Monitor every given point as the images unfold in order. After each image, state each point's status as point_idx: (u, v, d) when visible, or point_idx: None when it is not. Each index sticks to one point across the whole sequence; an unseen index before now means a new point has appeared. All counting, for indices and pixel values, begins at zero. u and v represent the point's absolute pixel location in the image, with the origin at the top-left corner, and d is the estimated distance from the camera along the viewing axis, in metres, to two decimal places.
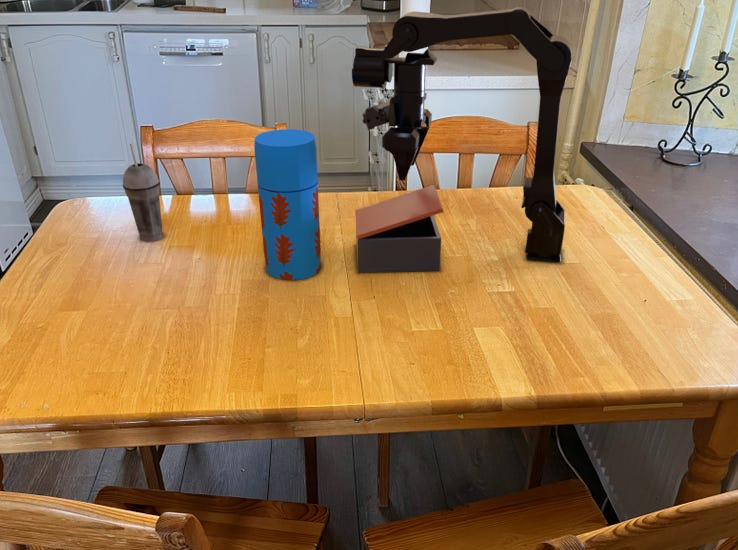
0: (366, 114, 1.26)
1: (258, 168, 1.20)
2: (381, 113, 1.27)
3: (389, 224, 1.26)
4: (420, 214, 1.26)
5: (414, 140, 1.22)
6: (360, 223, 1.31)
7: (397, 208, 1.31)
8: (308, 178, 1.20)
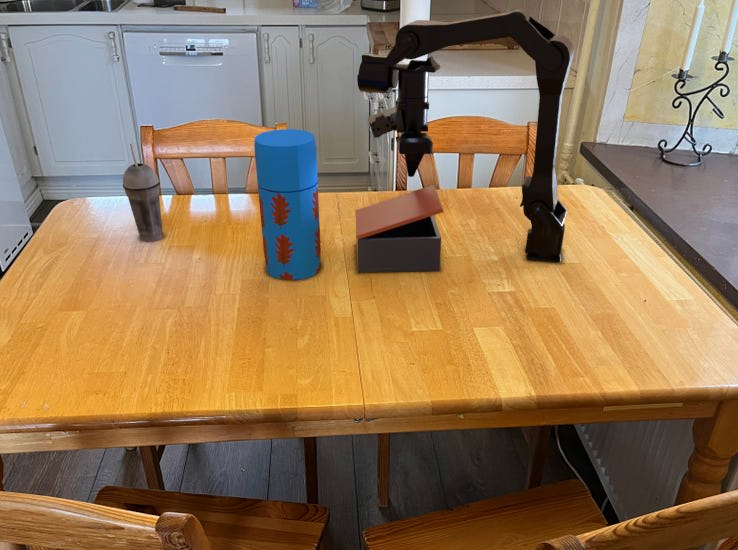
0: (376, 123, 1.28)
1: (258, 168, 1.20)
2: (390, 120, 1.29)
3: (389, 224, 1.26)
4: (420, 214, 1.26)
5: (431, 144, 1.26)
6: (360, 223, 1.31)
7: (397, 208, 1.31)
8: (308, 178, 1.20)
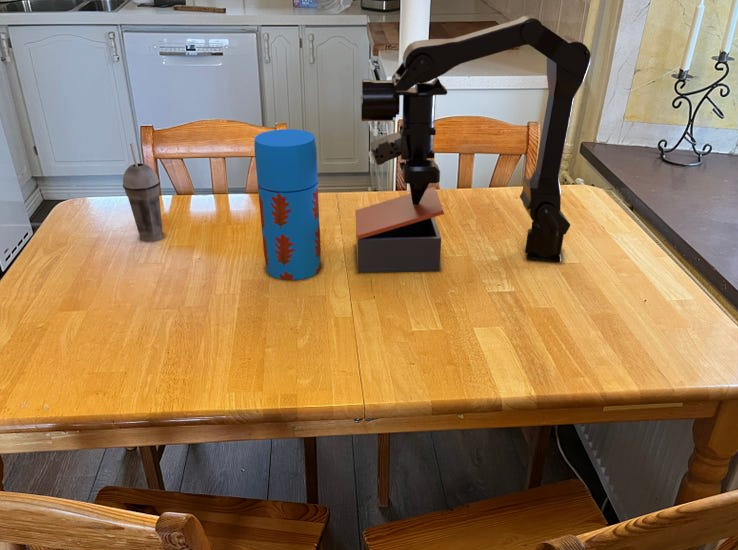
0: (379, 149, 1.20)
1: (258, 168, 1.20)
2: (394, 147, 1.21)
3: (389, 225, 1.27)
4: (420, 215, 1.26)
5: (438, 173, 1.18)
6: (361, 223, 1.31)
7: (397, 209, 1.31)
8: (308, 178, 1.20)
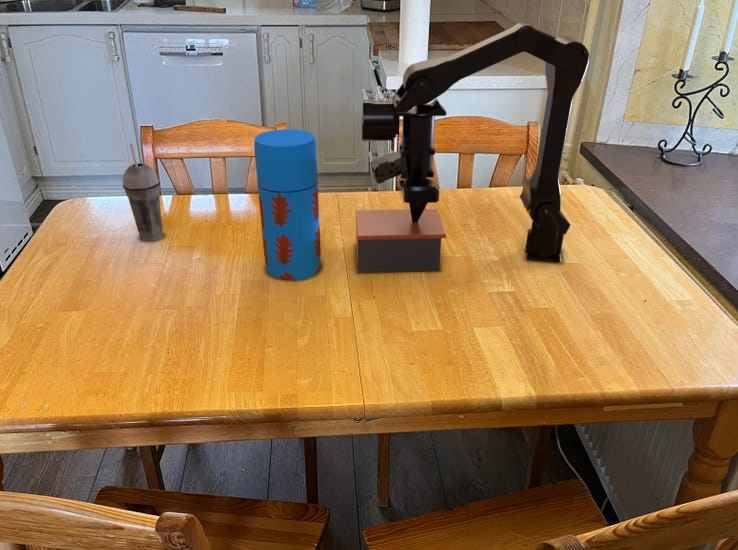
0: (379, 169, 1.22)
1: (258, 168, 1.20)
2: (394, 166, 1.23)
3: (391, 234, 1.28)
4: (423, 233, 1.28)
5: (438, 192, 1.20)
6: (361, 224, 1.31)
7: (399, 221, 1.33)
8: (308, 178, 1.20)
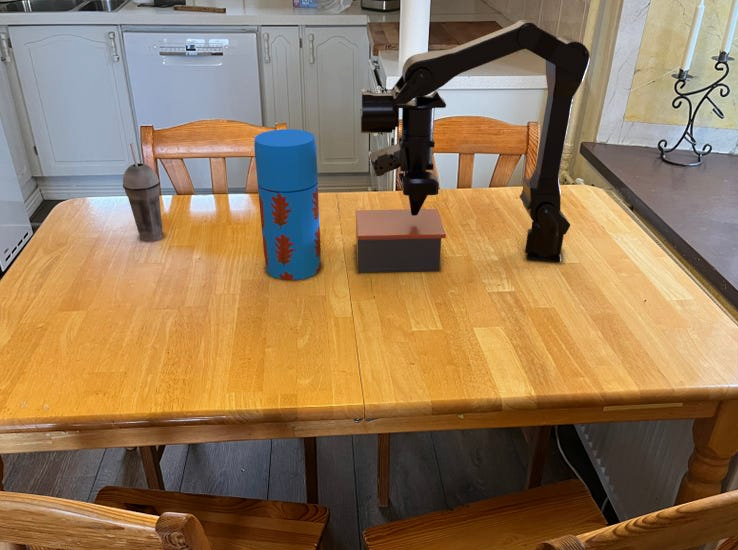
0: (379, 161, 1.22)
1: (258, 168, 1.20)
2: (393, 159, 1.22)
3: (391, 234, 1.28)
4: (423, 233, 1.28)
5: (437, 185, 1.19)
6: (361, 224, 1.31)
7: (399, 221, 1.33)
8: (308, 178, 1.20)
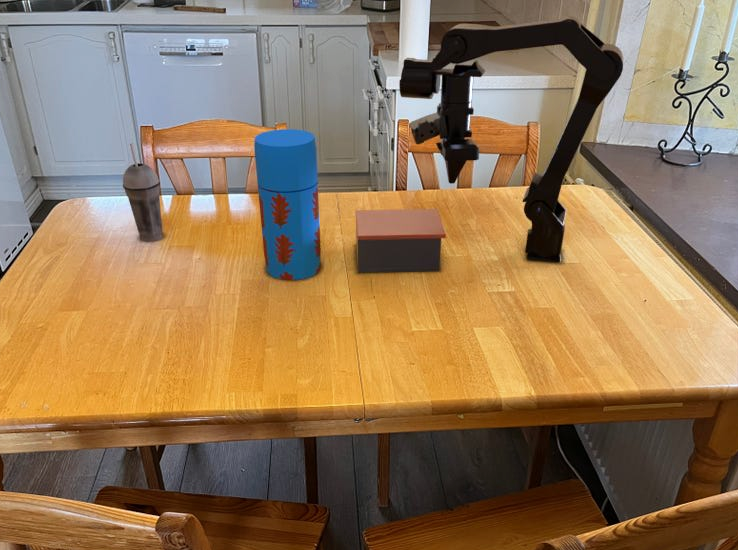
0: (420, 129, 1.25)
1: (258, 168, 1.20)
2: (434, 126, 1.26)
3: (391, 234, 1.28)
4: (423, 233, 1.28)
5: (478, 150, 1.23)
6: (361, 224, 1.31)
7: (399, 221, 1.33)
8: (308, 178, 1.20)
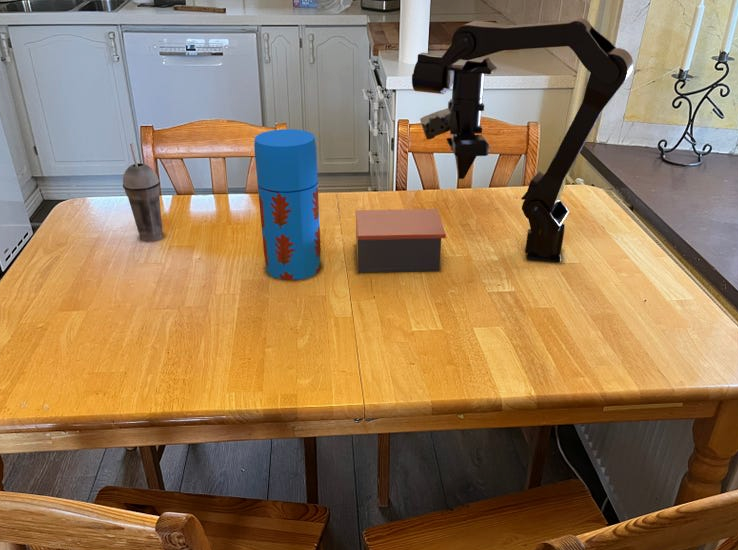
0: (431, 124, 1.27)
1: (258, 168, 1.20)
2: (444, 122, 1.28)
3: (391, 234, 1.28)
4: (423, 233, 1.28)
5: (488, 146, 1.25)
6: (361, 224, 1.31)
7: (399, 221, 1.33)
8: (308, 178, 1.20)
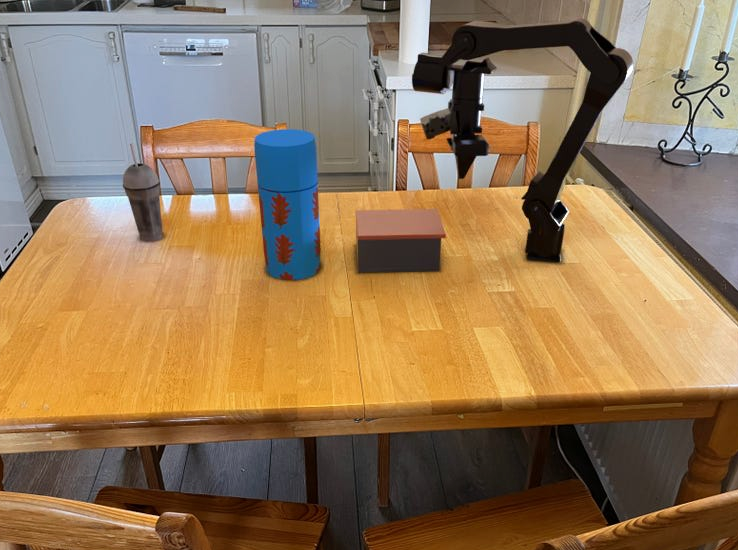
0: (431, 124, 1.27)
1: (258, 168, 1.20)
2: (444, 122, 1.28)
3: (391, 234, 1.28)
4: (423, 233, 1.28)
5: (488, 146, 1.25)
6: (361, 224, 1.31)
7: (399, 221, 1.33)
8: (308, 178, 1.20)
